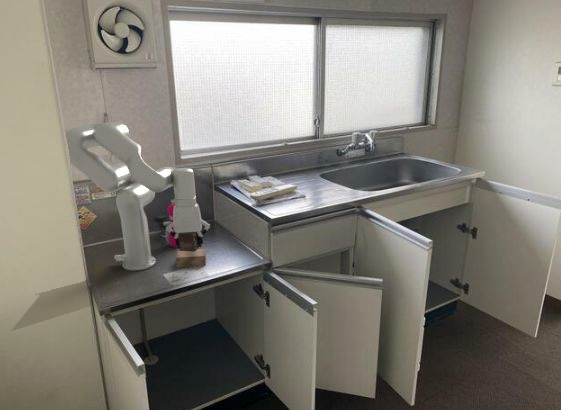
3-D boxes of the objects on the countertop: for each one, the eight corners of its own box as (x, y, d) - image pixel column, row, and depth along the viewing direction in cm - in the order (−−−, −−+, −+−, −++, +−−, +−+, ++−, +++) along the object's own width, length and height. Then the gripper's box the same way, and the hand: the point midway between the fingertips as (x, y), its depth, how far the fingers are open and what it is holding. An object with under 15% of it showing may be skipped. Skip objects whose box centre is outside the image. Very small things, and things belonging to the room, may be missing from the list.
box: (194, 252, 166) (192, 233, 163) (179, 251, 167) (177, 233, 165) (200, 246, 171) (199, 228, 169) (185, 245, 172) (184, 227, 170)
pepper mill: (188, 241, 198) (185, 198, 192) (182, 247, 191) (178, 203, 185) (172, 240, 199) (169, 198, 193) (166, 247, 192) (162, 202, 186)
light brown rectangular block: (176, 267, 172) (176, 257, 171) (178, 259, 179) (177, 250, 178) (205, 265, 173) (204, 255, 172) (206, 258, 180) (205, 248, 179)
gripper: (160, 206, 159) (165, 251, 164) (209, 203, 161) (212, 248, 166) (163, 200, 166) (167, 244, 171) (210, 197, 168) (213, 241, 173)
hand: (189, 246), depth 169 cm, fingers closed on box, 7 cm apart
